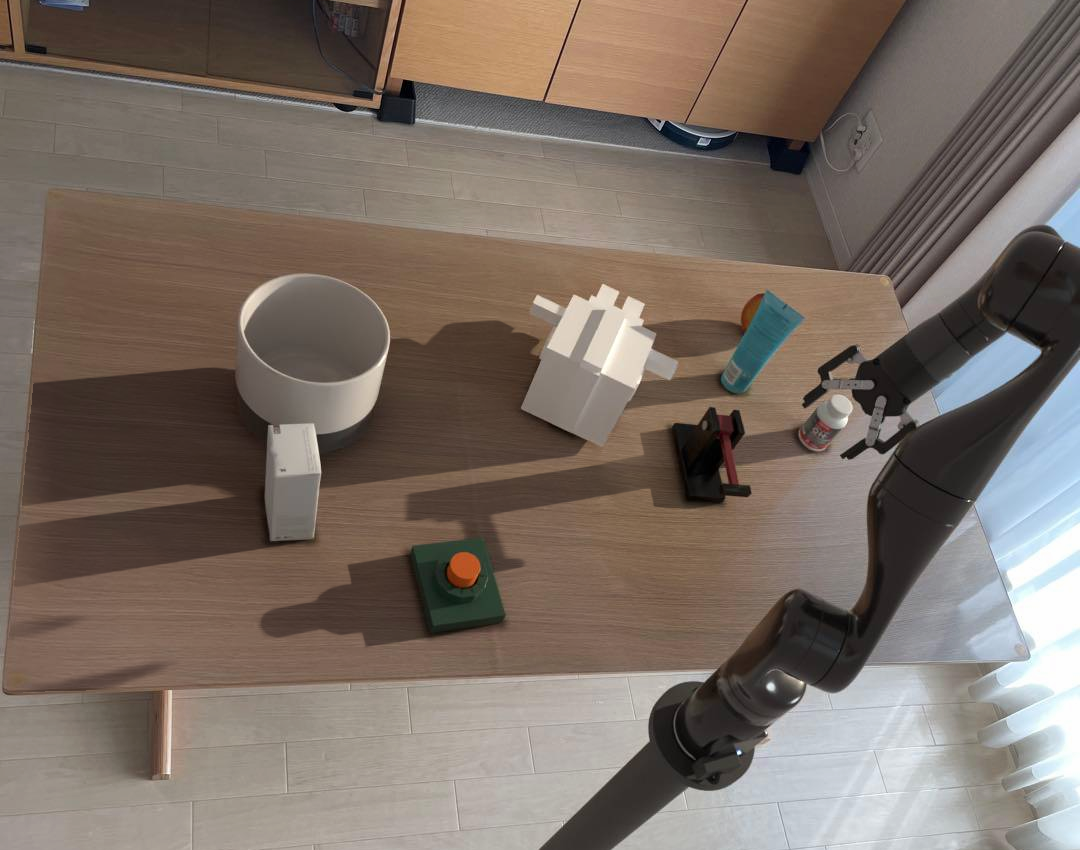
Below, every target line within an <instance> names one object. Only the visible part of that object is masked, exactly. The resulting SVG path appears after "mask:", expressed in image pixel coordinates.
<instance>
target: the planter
mask: <svg viewBox="0 0 1080 850" xmlns="http://www.w3.org/2000/svg"><path fill="white" fill-rule="evenodd" d="M390 344H391V332H390V326H389V324H388V320H387V318H386V316H385V314H384V313H383V311H382V310H381V308H380V307H379V306H378V304H377V303H376V302H375V301H374V300H373V299H372V298H371V297H370V296H369V295H367V294H366V293H365V292H363V291H362V290H361V289H359V288H357V287H356V286H354V285H352V284H350V283H349V282H345V281H343V280H341V279H338V278H335V277H331V276H328V275H323V274H317V273H292V274H285V275H281V276H277V277H274V278H272V279H269V280H267V281H265V282H262V283H261V284H260V285H258V286H257V287H255V288H254V289H253V290H252V291H251V292H249V293H248V295H247V296H246V297H245V299H244V300H243V301H242V304H241V305H240V308H239V312H238V315H237V327H236V346H235V348H236V349H235V364H234V365H235V366H234V367H235V369H234V388H233V399H234V404H235V408H236V411H237V413H238V415H239V417H240V419H241V420H242V422H243V423H244V425H245V426H246V427H247V428H248V429H249V430H250V431H251V432H252V433H253V434H254V435H255V436H256V437H258V438H259V439H261V440H262V441H264V442H265V443H267V438H268V425H283V424H307V423H313V424H314V427H315V432H316V438H317V445H318V451H319V454H325V453H326V454H327V453H330V452H335V451H337V450H340V449H343V448H345V447H348V446H349V445H351V444H352V443H354V442H356V441H357V440H358V439H359V438H360V437H362V435H363V434H364V433H365V432H366V431H367V429H368V428H369V426H370V425H371V422H372V420H373V418H374V414H375V409H376V406H377V401H378V397H379V393H380V388H381V385H382V381H383V375H384V371H385V367H386V364H387V363H386V362H387V359H388V353H389V350H390ZM298 378H299V379H298ZM301 378H302V379H301ZM313 380H314V381H313Z"/></svg>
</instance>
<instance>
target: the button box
mask: <svg viewBox="0 0 1080 850" xmlns="http://www.w3.org/2000/svg"><path fill="white" fill-rule="evenodd" d="M485 543H486V542H485V539H484V538H483V537H479V538H470V539H469V538H468V539H459V540H452V541H451V540H450V541H442V542H434V543H433V542H432V543H425V544H424V543H423V544H416V545H414V544H413V545H412V546H411V550H410V552H409V556H410V560H411V563H412V567H413V571H414V575H415V580H416V583H417V588H418V591H419V595H420V599H421V603H422V607H423V611H424V616H425V619H426V623H427V627H428V630H429V633H430V634H432V633H440V632H446V631H453V630H459V629H467V628H474V627H479V626H480V627H481V626H487V625H495V624H501V623H503V622H504V619H505V618H506V615H507V614H506V610H505V608H504V604H503V600H502V597H501V594H500V590H499V586H498V584H497V580H496V577H495V574H494V569H493V567H492V563H491V561H490V557H489V553H488V550H487V547H486V544H485ZM461 552H467V553H470V554H472V555H474V556H475V557H476V558H477V559H478V561H479V563H480V572H479V574H478V576H477V578H476V580H475V582H474V584H473V585H472V586H470V587H468V588H458V587H455V586H454V585H452V584H451V583H450V582H449V580H448V578H447V575H446V572H447V568H448V566H449V563H450V561H451V559H452V557H453V556H454V555H456V554H457V553H461Z"/></svg>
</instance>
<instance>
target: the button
mask: <svg viewBox="0 0 1080 850" xmlns="http://www.w3.org/2000/svg"><path fill="white" fill-rule="evenodd" d="M479 572H480V563H479V561H478V559H477V558H476V557H475V556H474V555H472V554H470V553H467V552H461V553H457V554H456V555H454V556H453V557H452V559H451V561H450V563H449V566H448V568H447V572H446V575H447V578H448V580H449V582H450V583H451V584H452V585H454V586H455V587H458V588H468V587H470V586H472V585H473V584H474V582H475V580H476V578H477V576H478V574H479Z"/></svg>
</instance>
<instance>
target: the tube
mask: <svg viewBox="0 0 1080 850" xmlns="http://www.w3.org/2000/svg"><path fill="white" fill-rule="evenodd" d="M764 293H765V294H764V296H763V299H762V301H761V303H760V305H759V307H758V309H757V311H756V313H755V315H754V317H753V319H752V321H751V323H750V325H749V327H748V329H747V330H746V332H745V333H744V334H743V336H742V338H741V340H740V341H739V344H738V345H737V347H736V349H735V351H734V353H733V354H732V355H731V358H730V360H729V362H728V363H727V365H726V367H725V369H724V370H723V372H722V374H721V376H720V381H721V384H722V385H723V386H724V388H725V389H726V390H728V391H729V392H730V393H733V394H743V393H745V392H746V391H747V390H748V389H749V387H750V386H751V384H752V383H753V382H754V381H755V379H757V377H758V375H759V374H760V373H761V371H762V370H763V368H764V367H765V366H766V365H767V363H768V362H769V361H770V360H771V359H772V357H773V356H774V354H775V353H776V352H777V351H778V350H779V349H780V347H781V346H782V345H783V344H784V343H785V341H786V340H787V339H788V338H789V336H790V335H792V334H793V332H794V331H795V330H796V328H798V327H799V326H800V325H801V324H802V323H803V322H804V320H805V319H806V317H805V316H804V315H803V314H801V313H800V312H798V311H797V310H796V309H795V308H793V307H791V306H790V305H789V304H787V303H786V302H785V301H784V300H783V299H781V298H780V297H778V296H777V295H776V294H774V293H773V292H771V291H770V289H766V290H765V292H764Z"/></svg>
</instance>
